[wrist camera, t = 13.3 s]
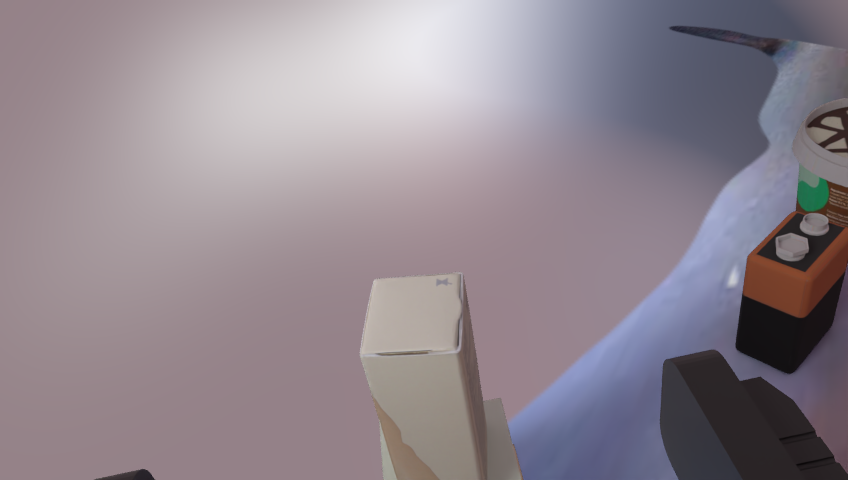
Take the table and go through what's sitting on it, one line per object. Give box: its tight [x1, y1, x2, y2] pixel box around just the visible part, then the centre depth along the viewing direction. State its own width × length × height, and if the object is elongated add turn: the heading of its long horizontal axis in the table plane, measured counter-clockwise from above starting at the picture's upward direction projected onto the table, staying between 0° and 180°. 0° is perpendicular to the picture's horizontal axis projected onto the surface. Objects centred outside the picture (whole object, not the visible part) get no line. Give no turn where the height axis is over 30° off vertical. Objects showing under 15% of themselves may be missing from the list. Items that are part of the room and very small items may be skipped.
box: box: [360, 272, 488, 480], centre depth 34 cm, size 5×4×11 cm
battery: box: [736, 211, 848, 373], centre depth 50 cm, size 4×7×10 cm, turn 132°
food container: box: [792, 98, 848, 227], centre depth 60 cm, size 12×6×10 cm, turn 142°
